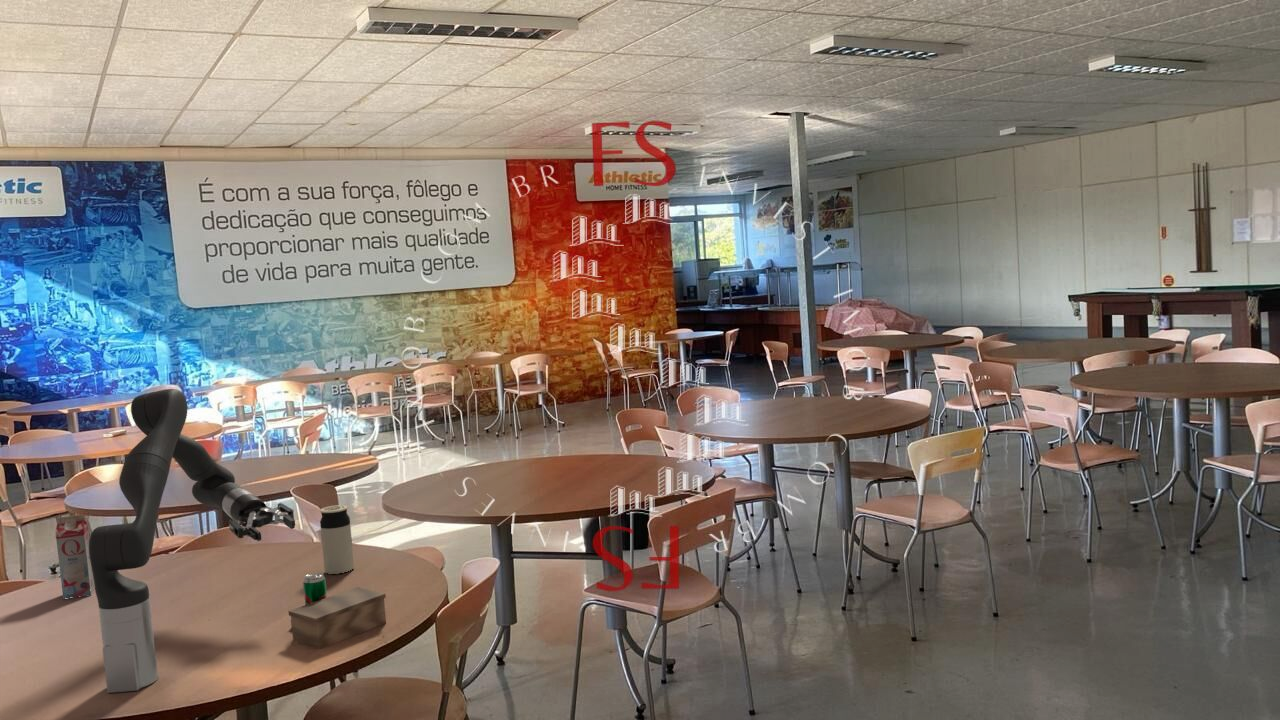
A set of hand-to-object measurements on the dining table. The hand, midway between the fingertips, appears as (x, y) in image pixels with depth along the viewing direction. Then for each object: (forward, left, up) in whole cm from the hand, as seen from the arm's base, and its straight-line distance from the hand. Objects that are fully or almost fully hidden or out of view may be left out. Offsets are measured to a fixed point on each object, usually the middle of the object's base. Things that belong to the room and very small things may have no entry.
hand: (276, 531), depth 232 cm
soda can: (-7, -10, -22) cm, 25 cm away
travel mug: (+38, -3, -22) cm, 44 cm away
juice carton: (+35, +67, -22) cm, 78 cm away
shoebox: (-13, -16, -22) cm, 30 cm away
